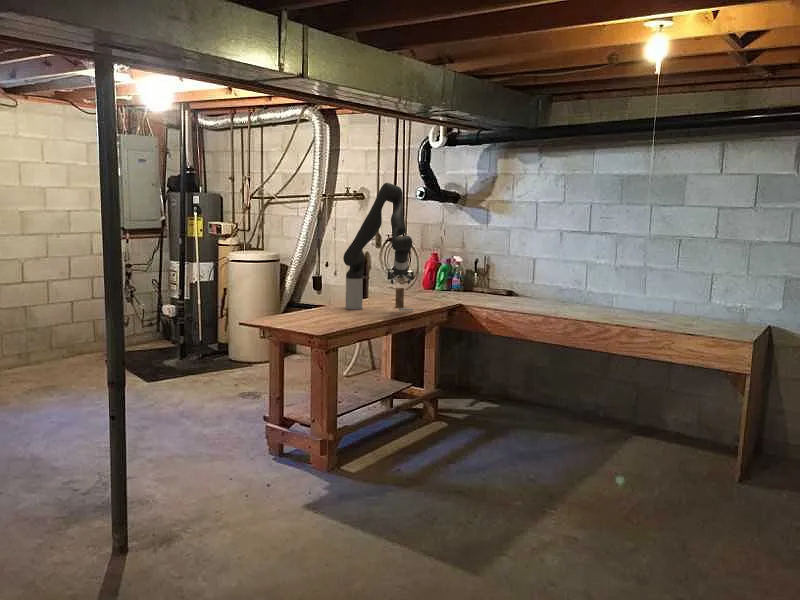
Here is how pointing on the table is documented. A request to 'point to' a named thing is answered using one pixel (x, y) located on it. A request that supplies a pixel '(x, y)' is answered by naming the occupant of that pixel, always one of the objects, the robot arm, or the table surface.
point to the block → (399, 298)
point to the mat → (406, 309)
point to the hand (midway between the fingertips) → (400, 283)
